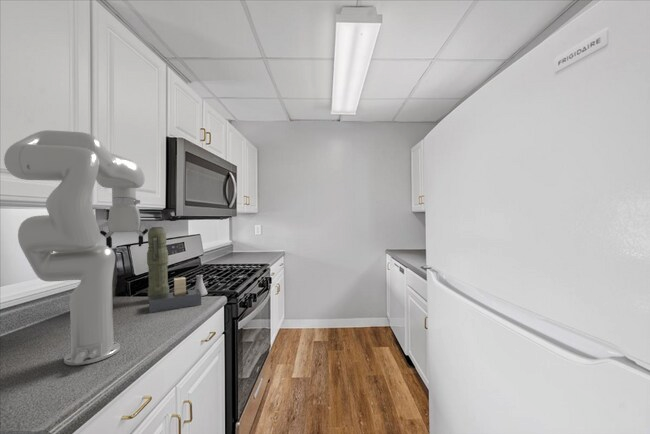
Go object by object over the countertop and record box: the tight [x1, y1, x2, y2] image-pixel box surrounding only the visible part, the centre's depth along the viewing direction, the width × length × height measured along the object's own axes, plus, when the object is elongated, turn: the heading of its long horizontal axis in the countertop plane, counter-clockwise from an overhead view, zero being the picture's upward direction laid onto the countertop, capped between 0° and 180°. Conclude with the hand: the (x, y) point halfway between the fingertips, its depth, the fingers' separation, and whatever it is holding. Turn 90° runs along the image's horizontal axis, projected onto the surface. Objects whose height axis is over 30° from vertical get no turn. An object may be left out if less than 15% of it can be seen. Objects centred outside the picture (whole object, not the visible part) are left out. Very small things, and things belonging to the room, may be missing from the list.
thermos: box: [146, 226, 170, 303], centre depth 139 cm, size 9×12×35 cm
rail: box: [148, 289, 202, 314], centre depth 129 cm, size 10×20×5 cm, turn 119°
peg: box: [173, 276, 187, 296], centre depth 130 cm, size 4×4×12 cm
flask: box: [193, 274, 208, 297], centre depth 145 cm, size 7×7×10 cm
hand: (125, 247), depth 112 cm, fingers open, 9 cm apart
